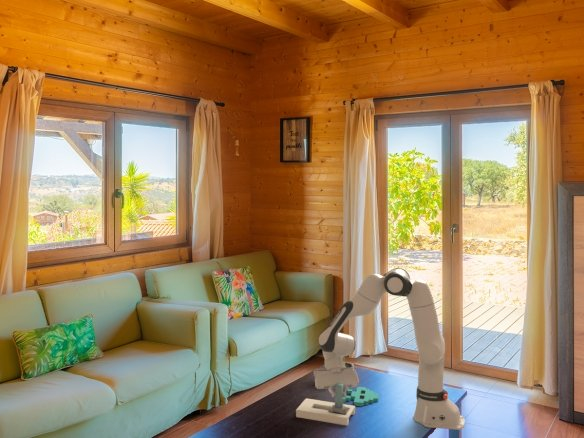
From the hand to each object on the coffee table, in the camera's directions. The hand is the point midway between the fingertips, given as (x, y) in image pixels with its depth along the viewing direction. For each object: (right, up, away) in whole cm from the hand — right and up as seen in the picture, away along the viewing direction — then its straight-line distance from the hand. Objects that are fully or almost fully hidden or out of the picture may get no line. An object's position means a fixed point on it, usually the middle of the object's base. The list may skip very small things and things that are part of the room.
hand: (339, 396), depth 251 cm
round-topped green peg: (0, -7, +1) cm, 7 cm away
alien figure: (+11, -9, +24) cm, 28 cm away
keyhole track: (-6, -10, +3) cm, 12 cm away
